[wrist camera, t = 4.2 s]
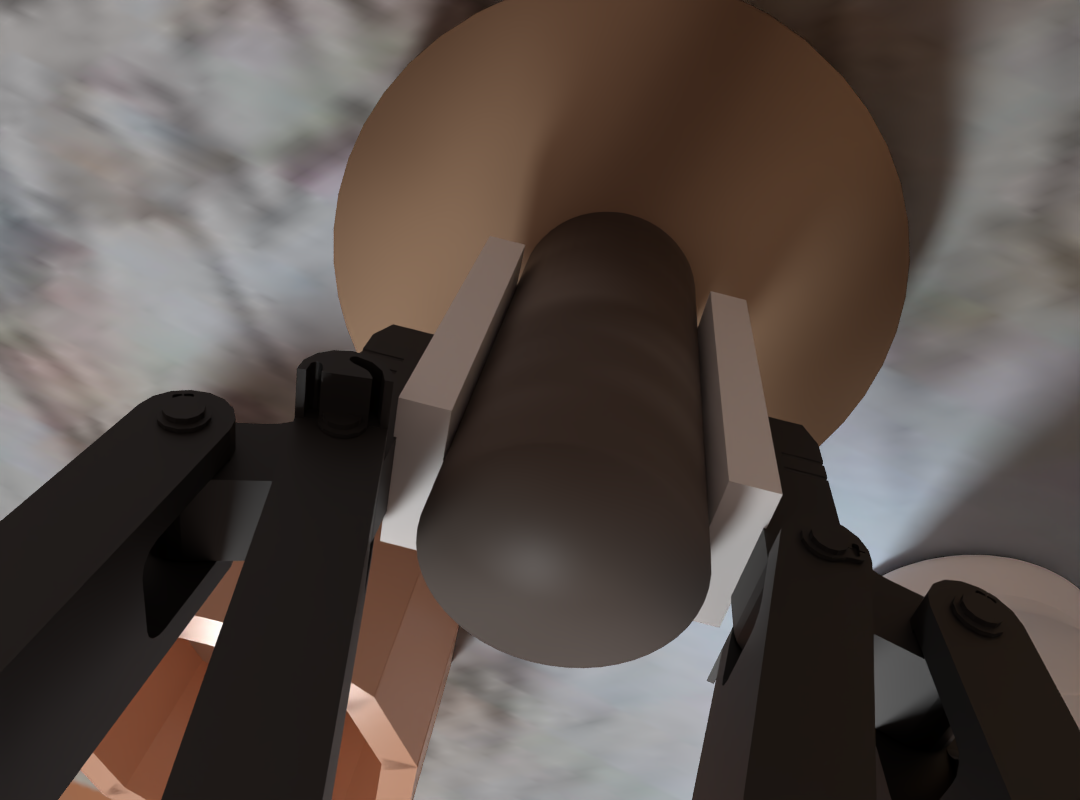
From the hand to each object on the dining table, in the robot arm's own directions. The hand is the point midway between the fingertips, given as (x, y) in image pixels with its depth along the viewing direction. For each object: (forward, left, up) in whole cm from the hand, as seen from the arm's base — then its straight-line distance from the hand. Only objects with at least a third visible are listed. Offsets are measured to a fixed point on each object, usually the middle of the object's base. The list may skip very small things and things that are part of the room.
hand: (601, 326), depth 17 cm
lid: (0, 0, -3) cm, 3 cm away
